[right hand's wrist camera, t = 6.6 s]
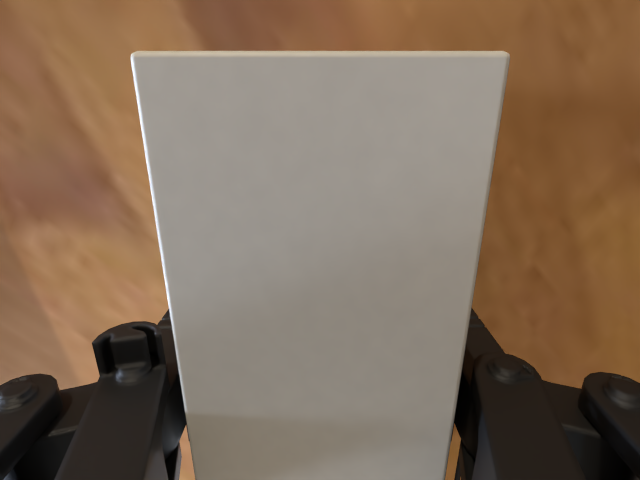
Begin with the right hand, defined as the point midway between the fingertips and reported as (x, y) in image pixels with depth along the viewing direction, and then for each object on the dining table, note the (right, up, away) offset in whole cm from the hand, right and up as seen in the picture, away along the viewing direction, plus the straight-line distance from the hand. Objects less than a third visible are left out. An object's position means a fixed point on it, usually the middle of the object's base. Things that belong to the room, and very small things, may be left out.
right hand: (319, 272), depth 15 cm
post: (0, -22, +9) cm, 23 cm away
